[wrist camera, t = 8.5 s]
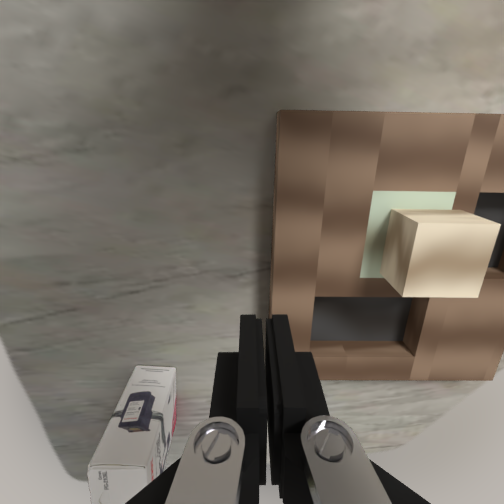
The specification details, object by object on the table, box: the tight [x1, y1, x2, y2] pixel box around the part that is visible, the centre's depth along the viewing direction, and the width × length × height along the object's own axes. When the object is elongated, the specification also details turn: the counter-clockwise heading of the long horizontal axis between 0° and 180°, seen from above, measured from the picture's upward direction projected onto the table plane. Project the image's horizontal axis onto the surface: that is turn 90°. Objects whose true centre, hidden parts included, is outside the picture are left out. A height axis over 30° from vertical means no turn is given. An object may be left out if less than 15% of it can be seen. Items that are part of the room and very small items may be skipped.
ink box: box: [87, 365, 176, 504], centre depth 32 cm, size 8×5×12 cm, turn 175°
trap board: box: [269, 110, 504, 380], centre depth 30 cm, size 26×24×3 cm
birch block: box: [380, 209, 501, 298], centre depth 25 cm, size 6×6×4 cm
